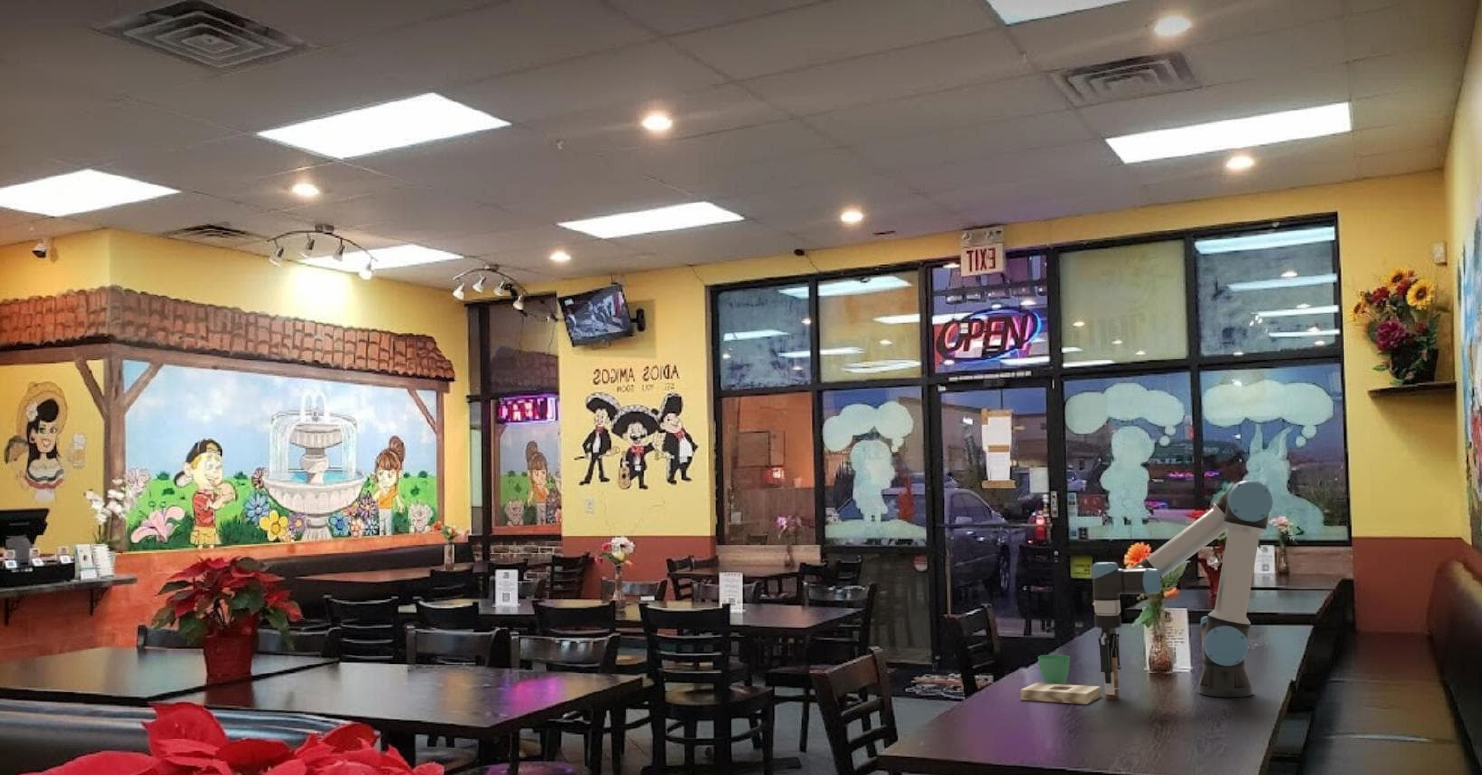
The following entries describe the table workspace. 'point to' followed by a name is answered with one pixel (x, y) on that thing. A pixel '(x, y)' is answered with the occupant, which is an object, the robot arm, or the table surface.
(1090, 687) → the board
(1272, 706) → the table surface
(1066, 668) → the mug
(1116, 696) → the peg
